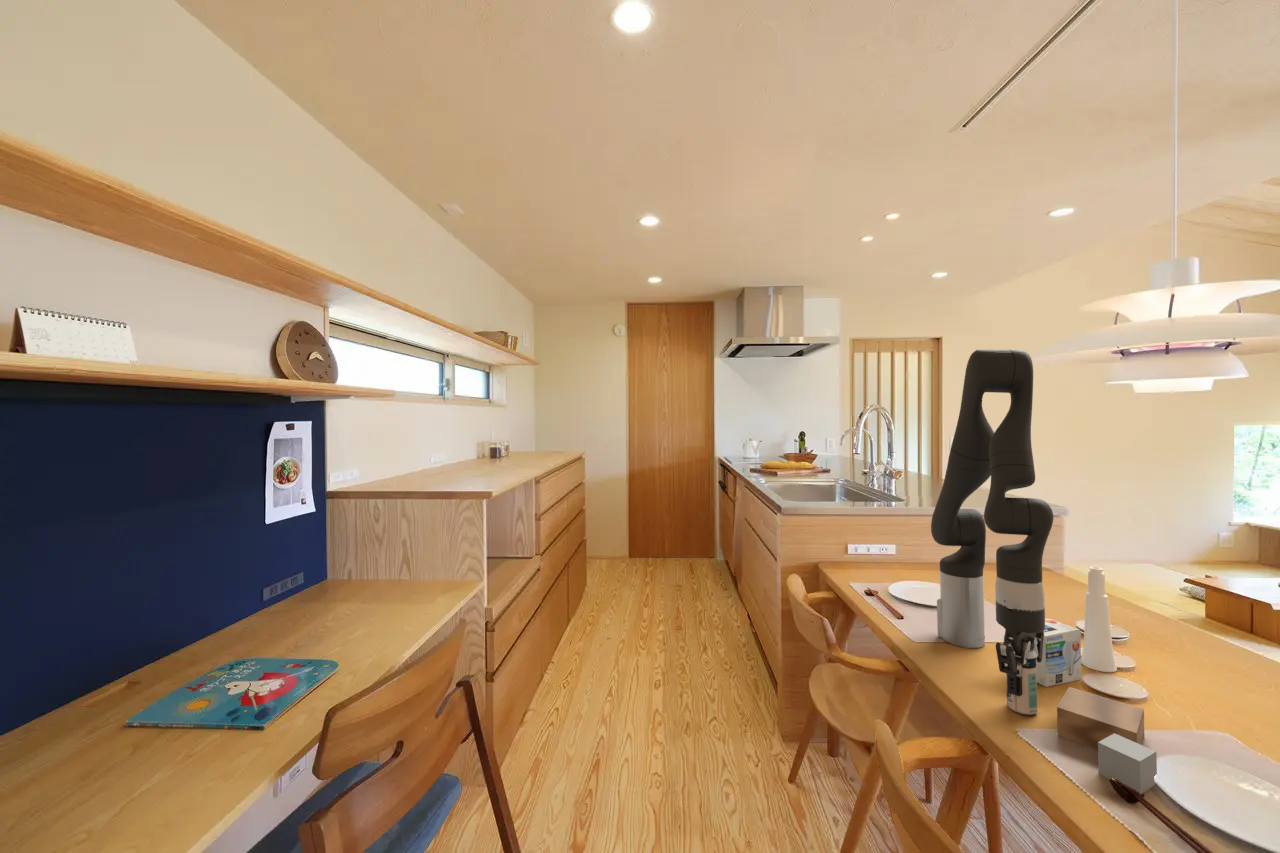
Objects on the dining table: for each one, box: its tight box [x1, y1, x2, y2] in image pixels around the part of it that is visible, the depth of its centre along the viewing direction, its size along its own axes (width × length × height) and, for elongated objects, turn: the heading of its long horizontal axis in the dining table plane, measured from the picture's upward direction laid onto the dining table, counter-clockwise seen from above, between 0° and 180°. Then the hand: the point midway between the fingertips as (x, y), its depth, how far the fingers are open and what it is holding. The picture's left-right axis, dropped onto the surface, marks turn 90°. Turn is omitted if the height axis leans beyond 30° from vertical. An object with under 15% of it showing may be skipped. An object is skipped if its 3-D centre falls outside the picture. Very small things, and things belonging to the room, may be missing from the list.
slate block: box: [1097, 733, 1158, 795], centre depth 77 cm, size 5×5×5 cm
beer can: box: [1005, 649, 1039, 716], centre depth 96 cm, size 5×5×12 cm
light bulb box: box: [1036, 618, 1082, 688], centre depth 108 cm, size 11×7×11 cm, turn 106°
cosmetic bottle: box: [1081, 566, 1118, 673], centre depth 111 cm, size 6×6×22 cm
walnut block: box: [1056, 686, 1145, 751], centre depth 87 cm, size 10×10×5 cm
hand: (1021, 689), depth 96 cm, fingers closed on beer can, 4 cm apart
